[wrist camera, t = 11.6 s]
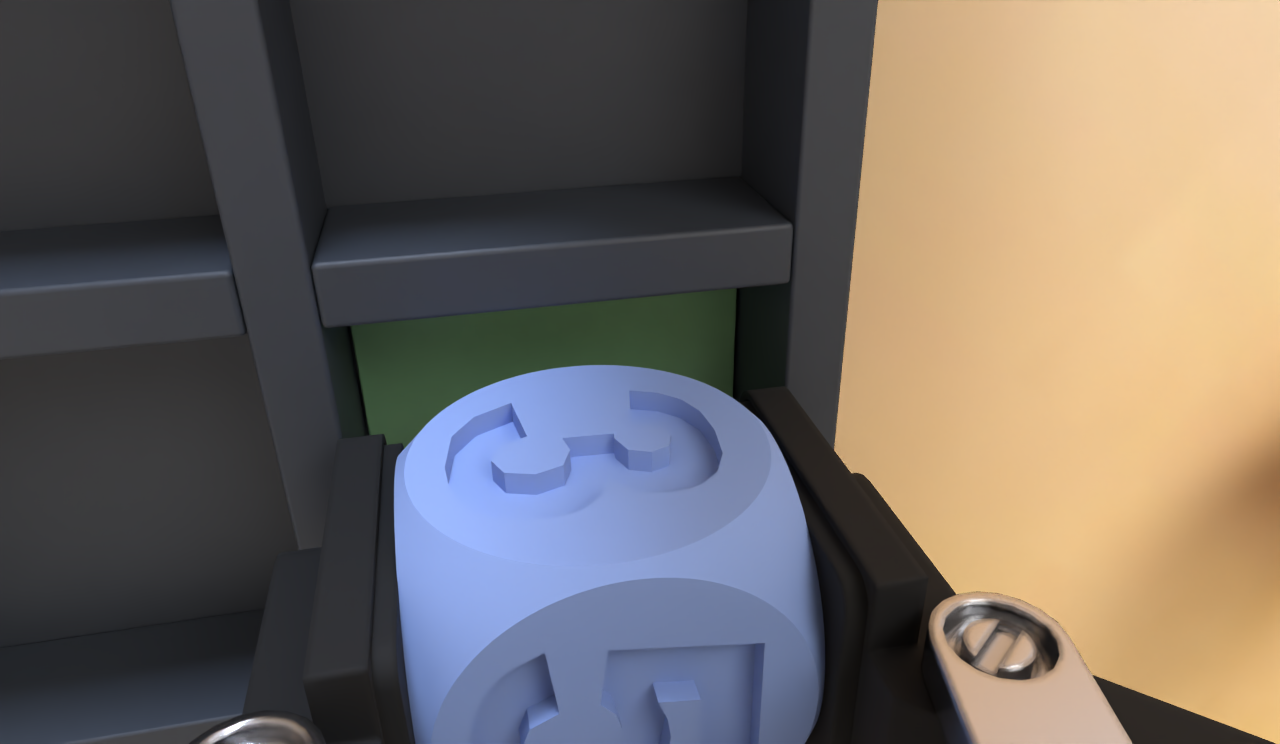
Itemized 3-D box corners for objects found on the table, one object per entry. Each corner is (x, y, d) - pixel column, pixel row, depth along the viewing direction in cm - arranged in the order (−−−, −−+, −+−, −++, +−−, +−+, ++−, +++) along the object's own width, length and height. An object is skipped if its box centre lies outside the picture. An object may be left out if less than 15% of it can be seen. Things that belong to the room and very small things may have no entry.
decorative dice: (712, 588, 14) (814, 828, 10) (437, 633, 13) (445, 907, 9) (718, 345, 12) (845, 536, 8) (396, 382, 11) (386, 608, 8)
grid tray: (-342, 1008, 16) (-465, 1188, 14) (-1702, -498, 7) (-2737, -693, 5) (747, 791, 20) (790, 907, 17) (817, -395, 10) (927, -476, 8)
